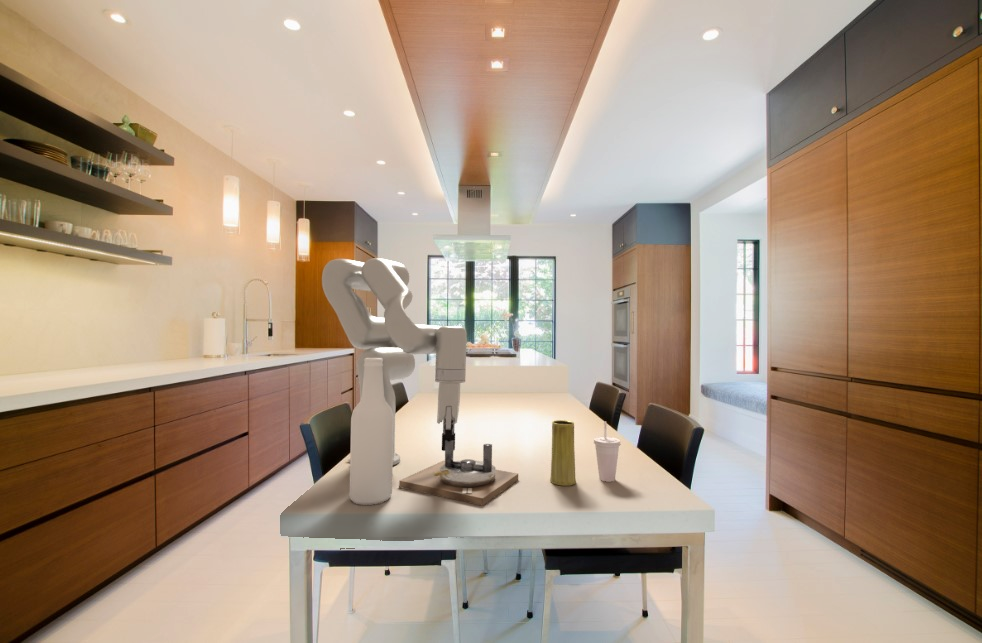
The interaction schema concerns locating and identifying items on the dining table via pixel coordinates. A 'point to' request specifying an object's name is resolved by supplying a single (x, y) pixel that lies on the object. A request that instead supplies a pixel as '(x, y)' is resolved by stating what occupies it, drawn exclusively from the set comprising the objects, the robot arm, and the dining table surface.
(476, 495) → the stand board
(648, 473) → the dining table surface
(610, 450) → the smoothie
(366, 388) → the alcohol
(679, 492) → the dining table surface
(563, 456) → the vase
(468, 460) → the dial
